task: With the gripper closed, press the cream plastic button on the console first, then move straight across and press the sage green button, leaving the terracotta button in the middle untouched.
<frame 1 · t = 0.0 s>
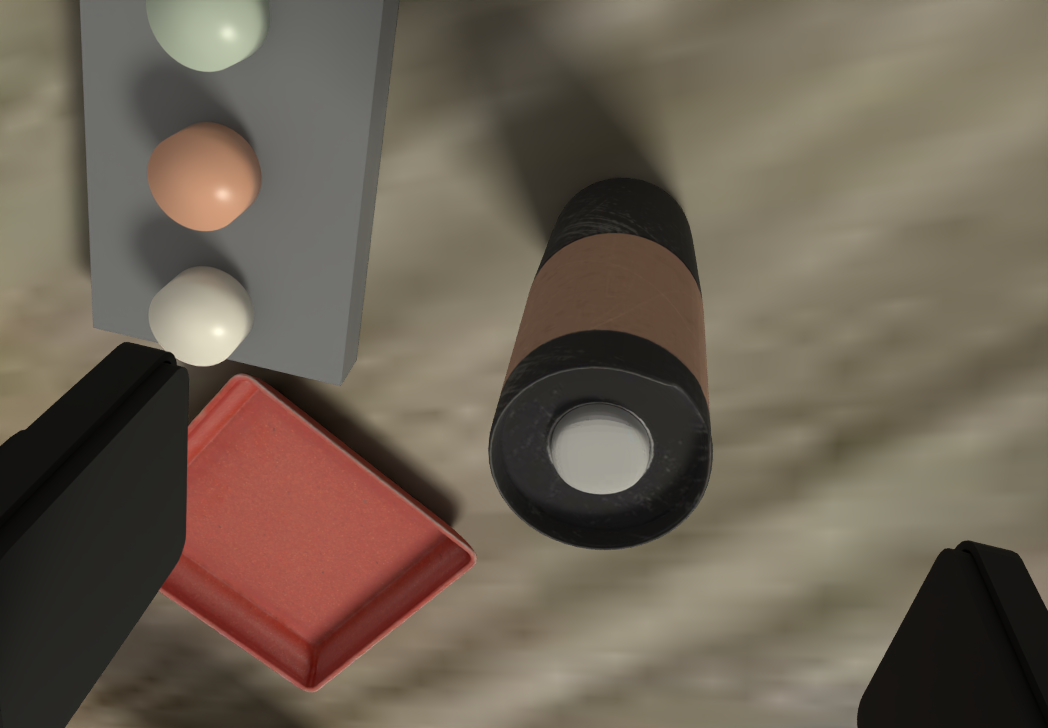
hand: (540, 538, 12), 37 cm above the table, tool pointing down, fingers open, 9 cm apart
sage button: (209, 11, 41), point 5 cm above the table, slide at 0.0 cm
plant saucer: (297, 516, 61), on the table
console: (246, 147, 49), on the table
travel mug: (622, 242, 49), on the table
cream button: (202, 316, 48), point 5 cm above the table, slide at 0.0 cm
terracotta button: (205, 176, 44), point 5 cm above the table, slide at 0.0 cm
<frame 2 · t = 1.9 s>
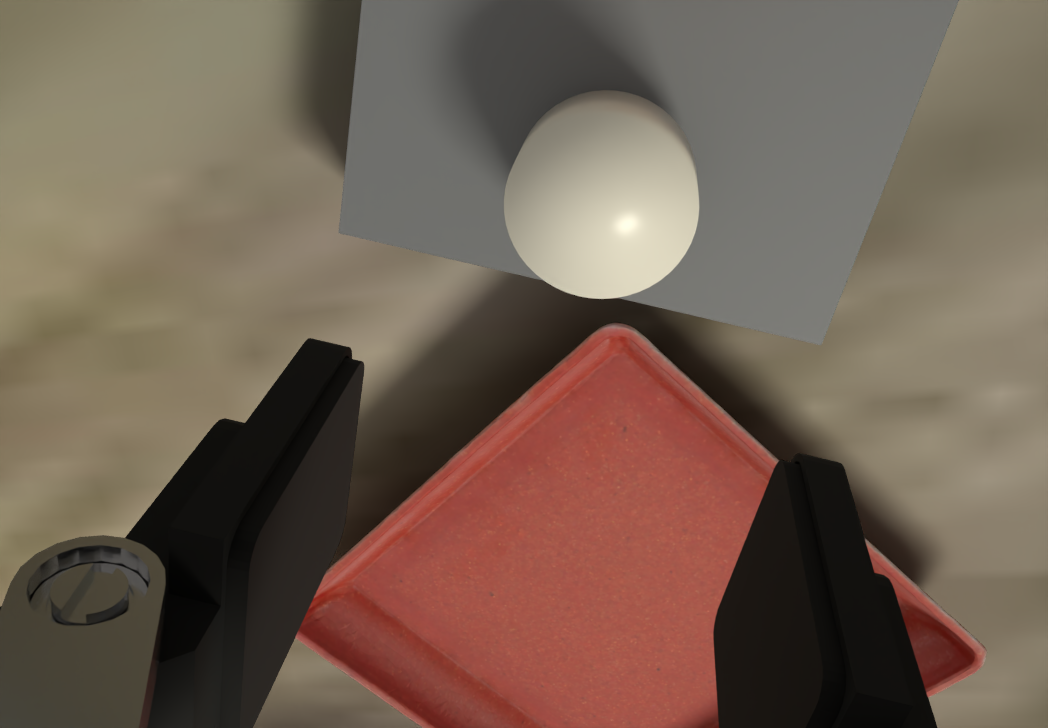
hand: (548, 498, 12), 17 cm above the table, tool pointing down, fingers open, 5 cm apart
plant saucer: (620, 575, 36), on the table
cream button: (602, 195, 23), point 5 cm above the table, slide at 0.0 cm
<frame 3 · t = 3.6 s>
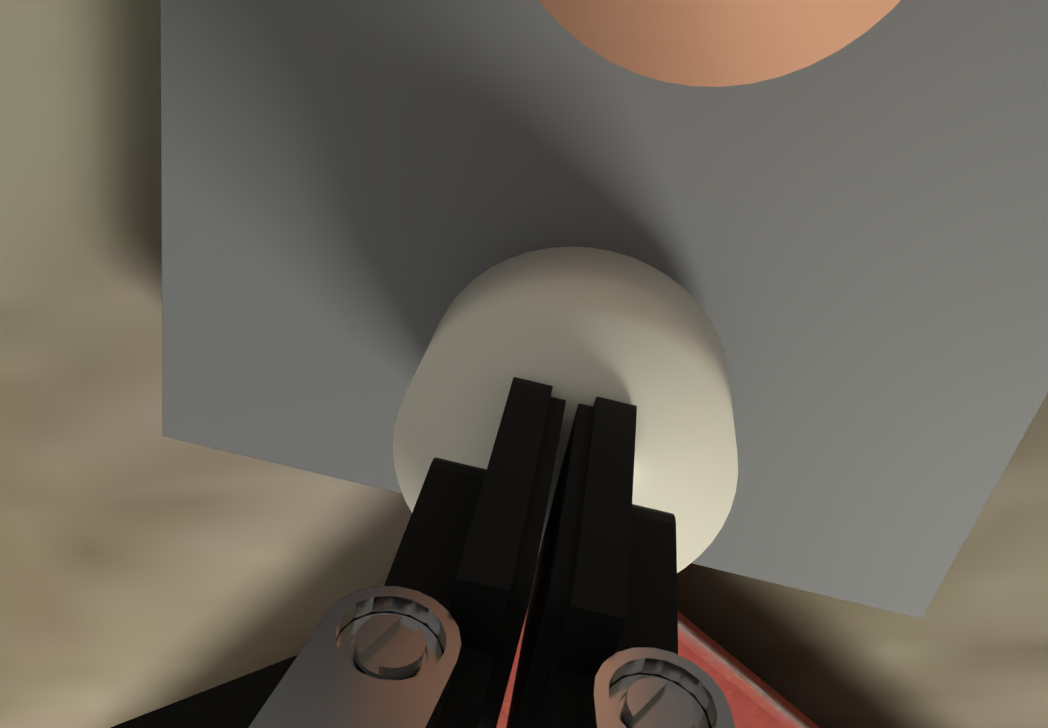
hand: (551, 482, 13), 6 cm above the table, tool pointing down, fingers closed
cream button: (569, 425, 13), point 5 cm above the table, slide at 0.1 cm, touching gripper
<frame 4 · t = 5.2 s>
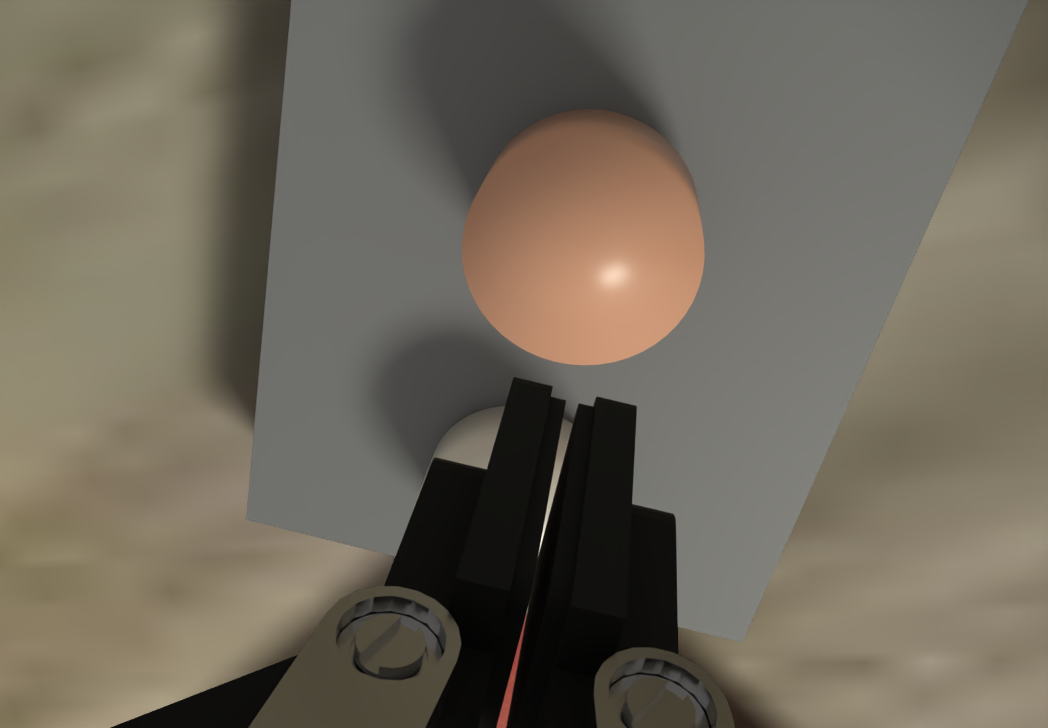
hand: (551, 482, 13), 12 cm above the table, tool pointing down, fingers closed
console: (597, 168, 23), on the table
cream button: (513, 509, 23), point 4 cm above the table, slide at 0.7 cm
terracotta button: (584, 237, 19), point 5 cm above the table, slide at 0.0 cm
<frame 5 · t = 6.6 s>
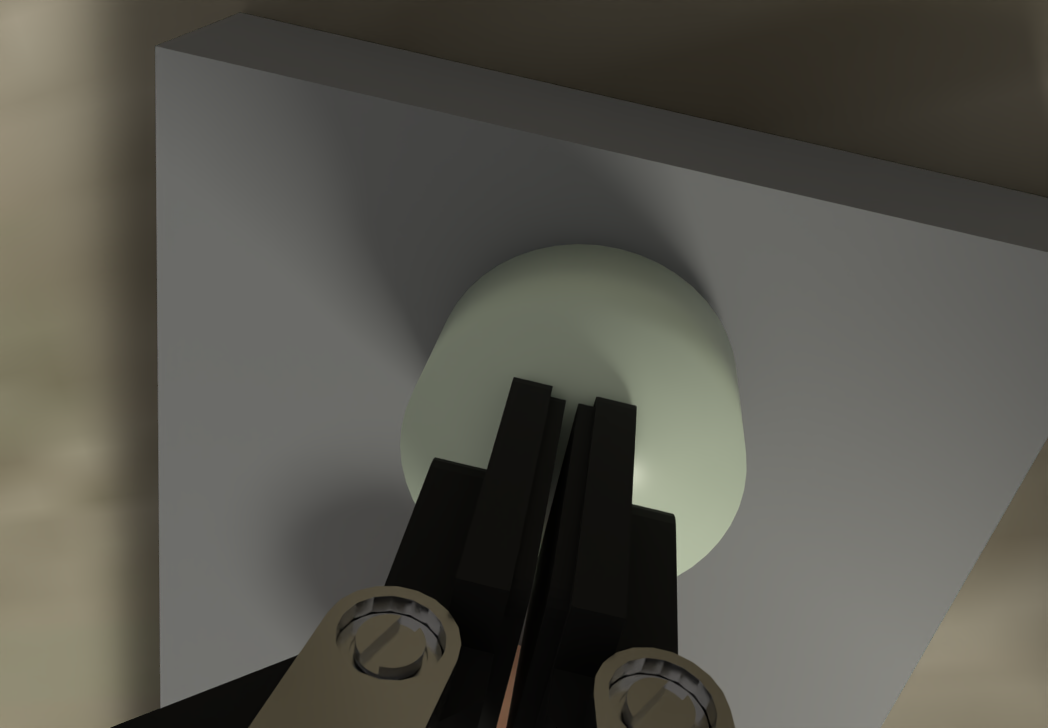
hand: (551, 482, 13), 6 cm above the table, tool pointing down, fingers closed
sage button: (576, 423, 13), point 5 cm above the table, slide at 0.5 cm, touching gripper
console: (523, 587, 21), on the table
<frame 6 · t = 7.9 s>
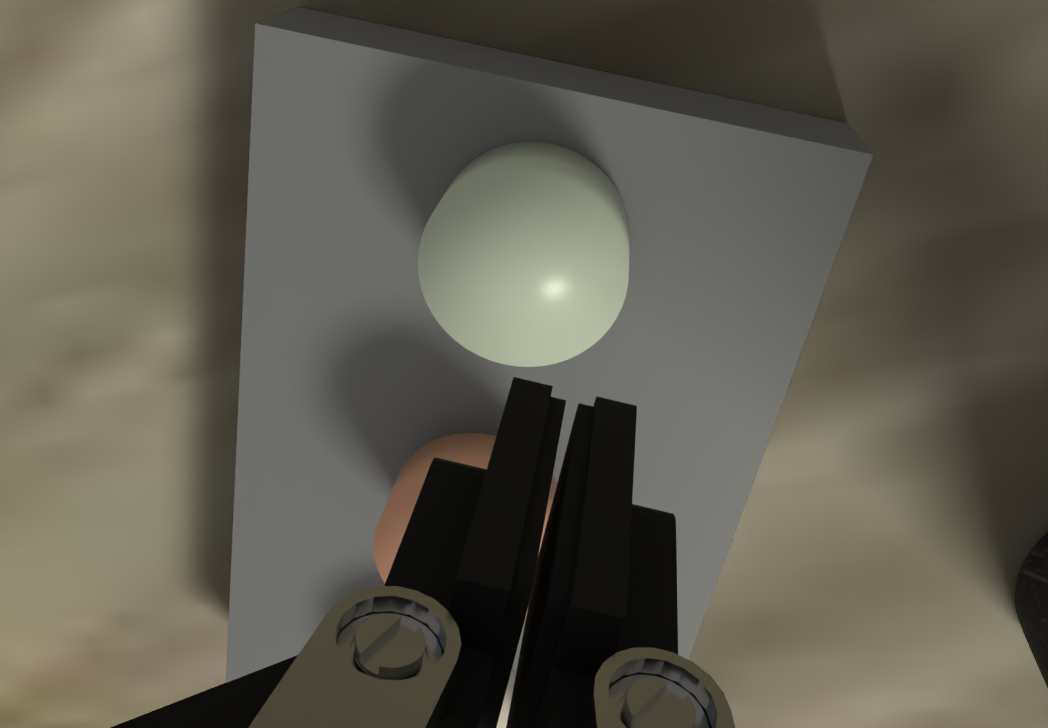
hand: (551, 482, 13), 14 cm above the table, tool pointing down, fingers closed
sage button: (527, 254, 21), point 4 cm above the table, slide at 0.7 cm
console: (498, 430, 29), on the table
cream button: (437, 711, 28), point 4 cm above the table, slide at 0.7 cm
terracotta button: (471, 531, 24), point 5 cm above the table, slide at 0.0 cm
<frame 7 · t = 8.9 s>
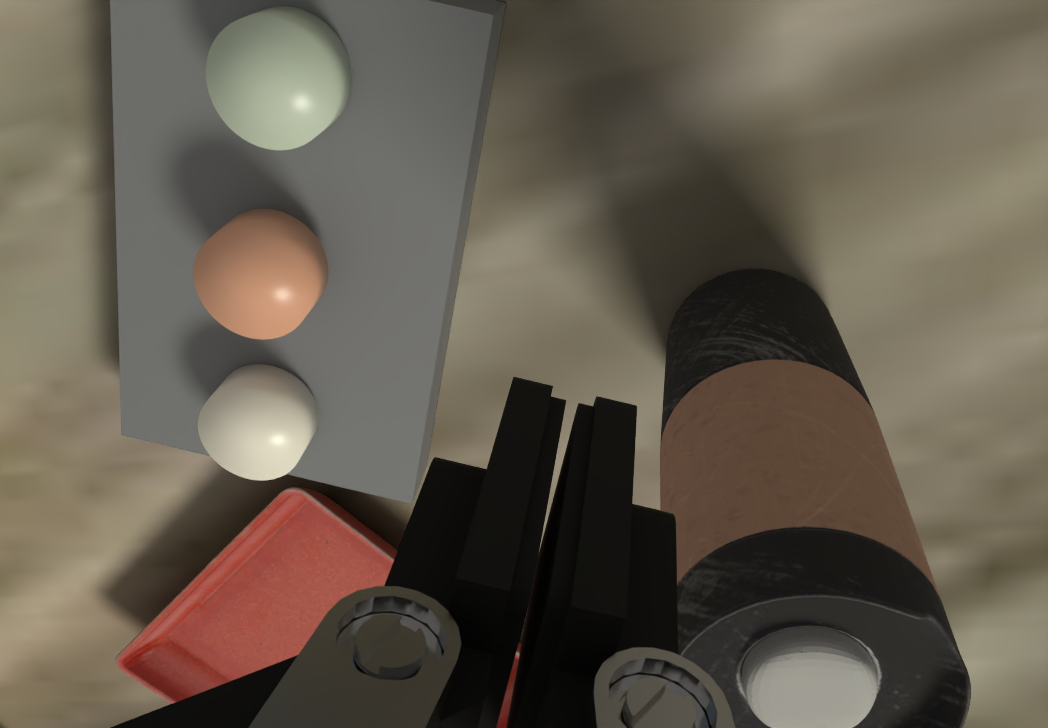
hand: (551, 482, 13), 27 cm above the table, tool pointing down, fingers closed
sage button: (280, 78, 34), point 4 cm above the table, slide at 0.7 cm
plant saucer: (349, 631, 53), on the table
console: (305, 229, 41), on the table
travel mug: (749, 341, 41), on the table
cream button: (259, 422, 41), point 4 cm above the table, slide at 0.7 cm
terracotta button: (262, 274, 37), point 5 cm above the table, slide at 0.0 cm
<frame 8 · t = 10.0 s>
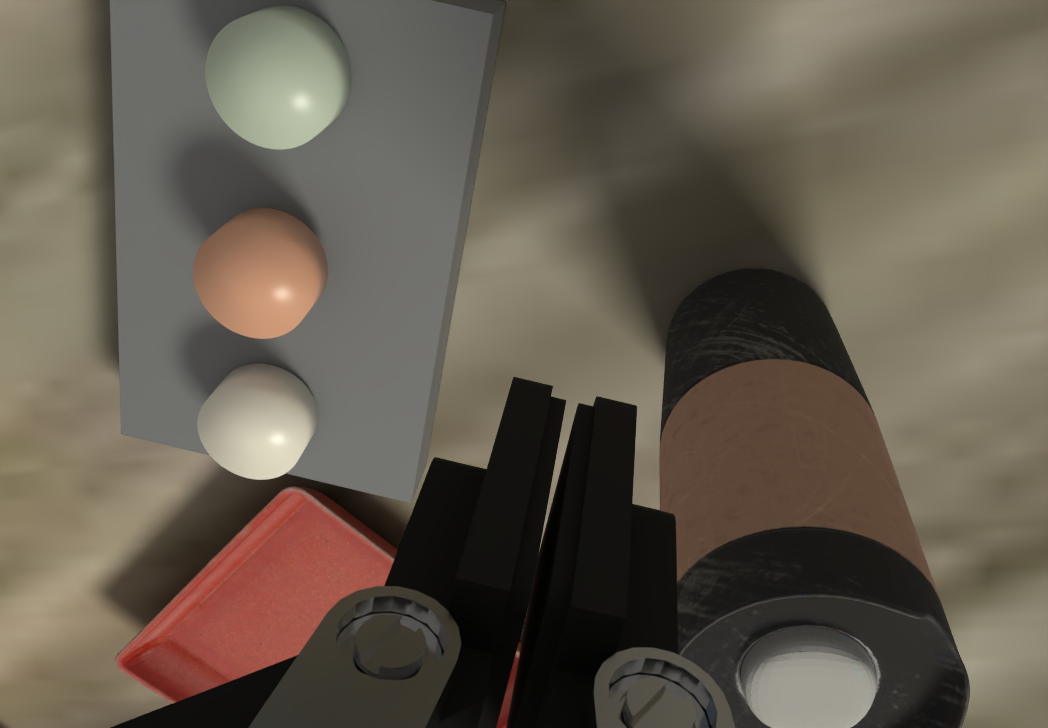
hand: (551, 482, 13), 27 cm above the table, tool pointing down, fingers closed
sage button: (280, 77, 34), point 4 cm above the table, slide at 0.7 cm
plant saucer: (349, 630, 53), on the table
console: (304, 228, 41), on the table
travel mug: (748, 340, 41), on the table
cream button: (259, 421, 41), point 4 cm above the table, slide at 0.7 cm
terracotta button: (262, 273, 37), point 5 cm above the table, slide at 0.0 cm
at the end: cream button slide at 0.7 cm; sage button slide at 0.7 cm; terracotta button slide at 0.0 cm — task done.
